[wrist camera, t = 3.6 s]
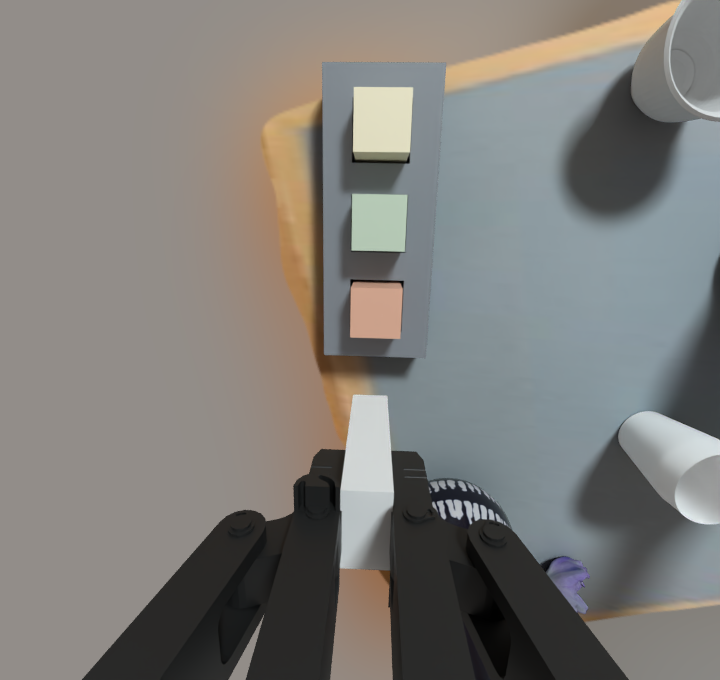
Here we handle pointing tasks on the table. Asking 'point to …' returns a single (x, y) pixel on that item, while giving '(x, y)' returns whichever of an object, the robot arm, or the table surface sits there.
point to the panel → (379, 179)
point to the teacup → (681, 66)
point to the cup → (676, 463)
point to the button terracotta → (376, 309)
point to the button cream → (382, 124)
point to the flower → (569, 580)
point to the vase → (466, 526)
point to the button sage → (379, 222)
